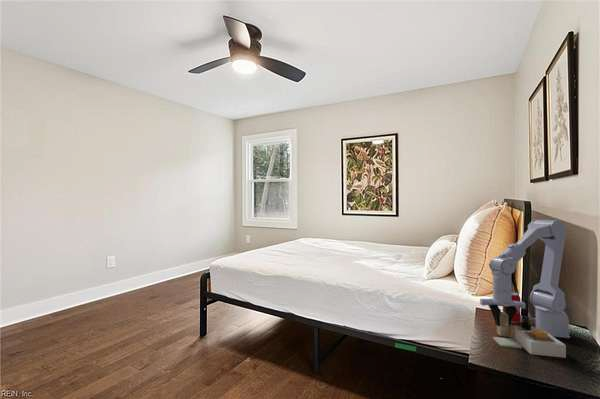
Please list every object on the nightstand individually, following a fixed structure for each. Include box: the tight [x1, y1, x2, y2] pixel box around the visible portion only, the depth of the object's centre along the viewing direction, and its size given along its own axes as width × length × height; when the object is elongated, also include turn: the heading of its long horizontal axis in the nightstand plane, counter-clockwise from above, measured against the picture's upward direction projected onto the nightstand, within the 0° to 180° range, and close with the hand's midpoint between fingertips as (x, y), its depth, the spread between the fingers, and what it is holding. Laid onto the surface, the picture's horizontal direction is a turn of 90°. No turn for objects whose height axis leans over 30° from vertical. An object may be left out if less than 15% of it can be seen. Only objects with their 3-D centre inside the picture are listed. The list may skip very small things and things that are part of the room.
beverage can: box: [502, 291, 522, 324], centre depth 126 cm, size 6×6×12 cm
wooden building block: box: [496, 311, 510, 338], centre depth 111 cm, size 3×3×8 cm
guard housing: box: [514, 329, 567, 359], centre depth 101 cm, size 10×10×4 cm
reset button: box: [530, 328, 548, 339], centre depth 101 cm, size 3×3×3 cm
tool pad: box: [493, 336, 523, 349], centre depth 105 cm, size 6×6×1 cm
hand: (502, 325), depth 111 cm, fingers closed on wooden building block, 3 cm apart
